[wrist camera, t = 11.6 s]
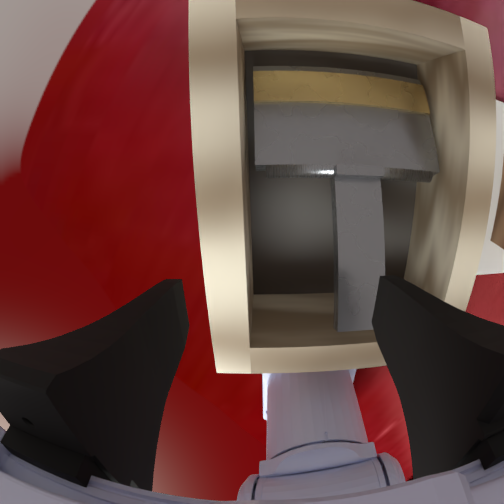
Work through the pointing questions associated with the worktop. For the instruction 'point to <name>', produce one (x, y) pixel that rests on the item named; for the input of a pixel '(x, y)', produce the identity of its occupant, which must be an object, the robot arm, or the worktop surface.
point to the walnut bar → (499, 217)
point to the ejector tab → (345, 159)
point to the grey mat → (494, 204)
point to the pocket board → (319, 189)
